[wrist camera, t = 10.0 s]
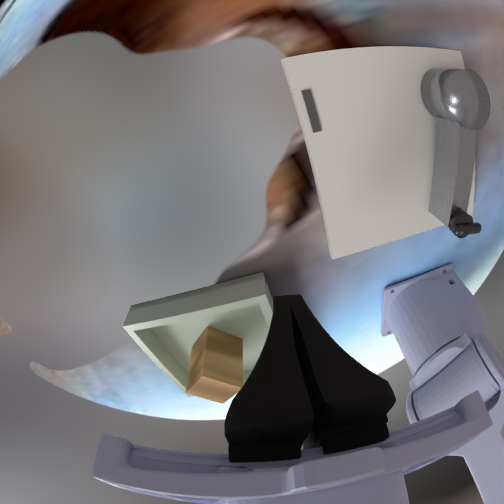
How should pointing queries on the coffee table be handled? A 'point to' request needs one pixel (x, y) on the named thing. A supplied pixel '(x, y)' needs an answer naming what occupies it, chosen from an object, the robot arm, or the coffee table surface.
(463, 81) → the crank
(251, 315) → the tray
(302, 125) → the board
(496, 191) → the coffee table surface
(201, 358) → the block
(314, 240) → the coffee table surface
